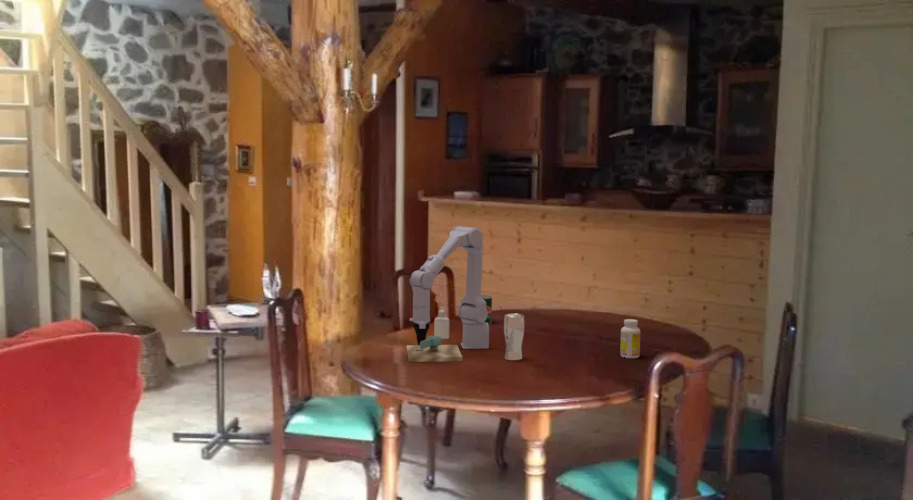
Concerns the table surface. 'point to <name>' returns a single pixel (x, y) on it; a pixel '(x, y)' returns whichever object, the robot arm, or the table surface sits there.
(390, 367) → the table surface
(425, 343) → the knob
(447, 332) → the eye dropper bottle
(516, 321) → the beer glass
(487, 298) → the canned tomato
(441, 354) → the post base
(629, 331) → the supplement bottle
